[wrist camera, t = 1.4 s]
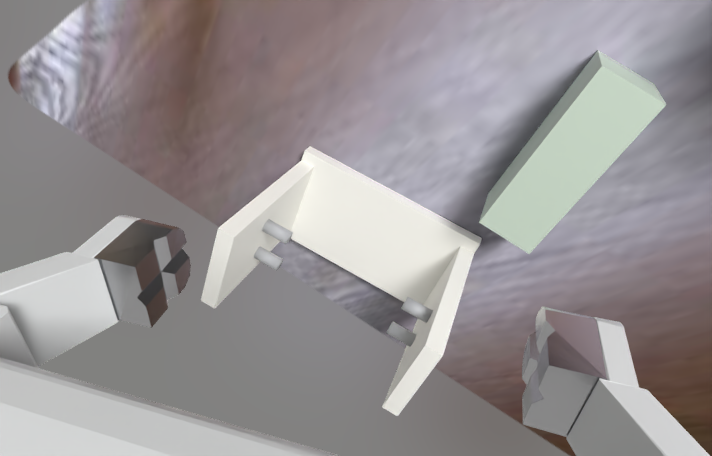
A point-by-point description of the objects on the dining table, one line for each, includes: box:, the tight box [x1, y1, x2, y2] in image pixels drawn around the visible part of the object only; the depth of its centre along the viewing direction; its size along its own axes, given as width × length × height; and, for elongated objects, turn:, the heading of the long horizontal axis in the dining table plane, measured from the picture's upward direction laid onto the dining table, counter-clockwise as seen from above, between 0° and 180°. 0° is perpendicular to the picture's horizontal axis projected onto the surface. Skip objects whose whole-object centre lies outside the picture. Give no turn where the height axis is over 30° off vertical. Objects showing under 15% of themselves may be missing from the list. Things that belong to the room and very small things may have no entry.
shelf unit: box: [201, 146, 482, 416], centre depth 38 cm, size 16×9×13 cm, turn 68°
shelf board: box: [479, 51, 666, 254], centre depth 32 cm, size 12×4×5 cm, turn 153°
